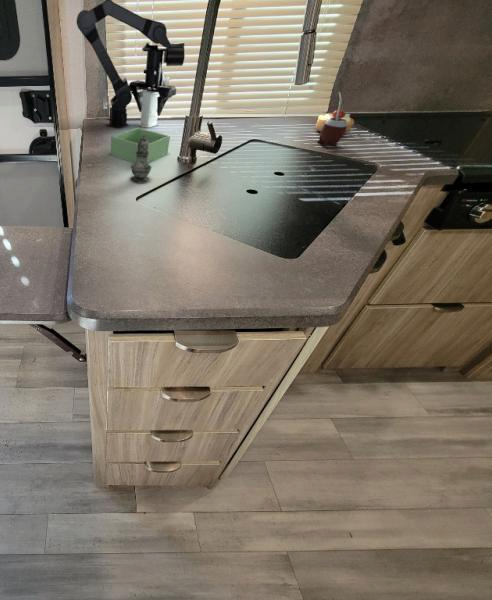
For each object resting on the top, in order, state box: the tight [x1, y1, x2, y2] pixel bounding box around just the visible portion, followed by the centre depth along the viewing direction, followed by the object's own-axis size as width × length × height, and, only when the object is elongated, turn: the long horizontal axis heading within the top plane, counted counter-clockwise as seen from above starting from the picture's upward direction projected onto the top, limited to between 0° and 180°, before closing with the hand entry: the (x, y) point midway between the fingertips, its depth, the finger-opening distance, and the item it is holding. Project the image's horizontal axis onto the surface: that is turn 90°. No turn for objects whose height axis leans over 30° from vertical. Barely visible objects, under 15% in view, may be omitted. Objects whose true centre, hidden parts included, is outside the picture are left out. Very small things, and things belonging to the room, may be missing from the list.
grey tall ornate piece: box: [130, 135, 153, 184], centre depth 90 cm, size 6×6×12 cm
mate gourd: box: [316, 91, 347, 148], centre depth 111 cm, size 8×8×15 cm
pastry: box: [316, 105, 355, 135], centre depth 123 cm, size 12×12×9 cm
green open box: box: [110, 127, 171, 164], centre depth 107 cm, size 14×14×6 cm
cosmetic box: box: [139, 90, 160, 129], centre depth 130 cm, size 6×4×12 cm
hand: (149, 113), depth 131 cm, fingers open, 9 cm apart
